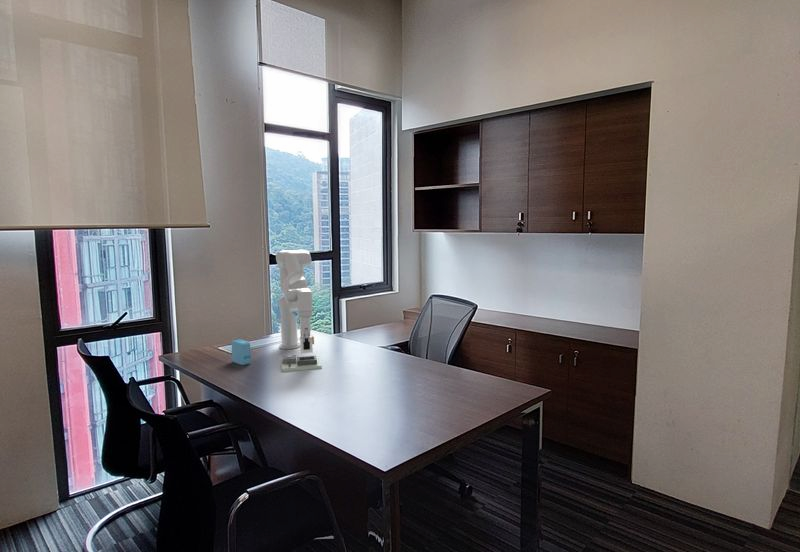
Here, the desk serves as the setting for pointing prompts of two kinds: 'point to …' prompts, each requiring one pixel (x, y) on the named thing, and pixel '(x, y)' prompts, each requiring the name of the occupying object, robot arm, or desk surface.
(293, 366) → the board
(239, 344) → the data package
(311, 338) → the plug
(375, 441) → the desk surface
